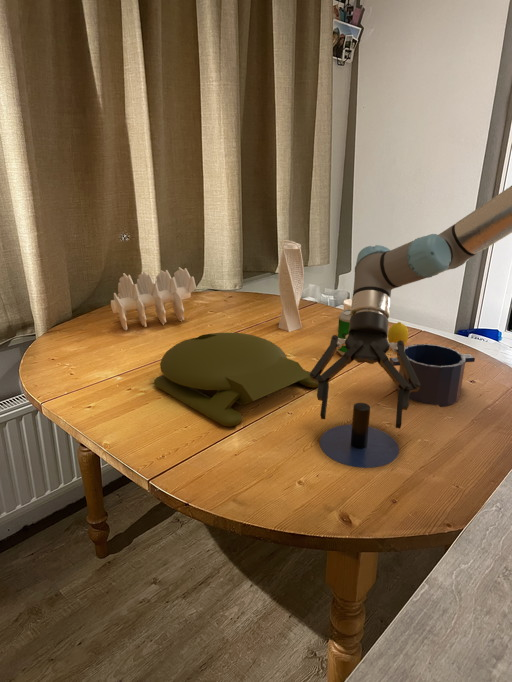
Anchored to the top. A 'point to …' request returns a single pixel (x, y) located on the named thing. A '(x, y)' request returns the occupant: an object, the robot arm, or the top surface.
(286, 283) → the skyscraper
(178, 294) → the spiky fin rack
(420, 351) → the pot
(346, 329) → the soda can
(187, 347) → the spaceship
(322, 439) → the lid
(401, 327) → the lemon
